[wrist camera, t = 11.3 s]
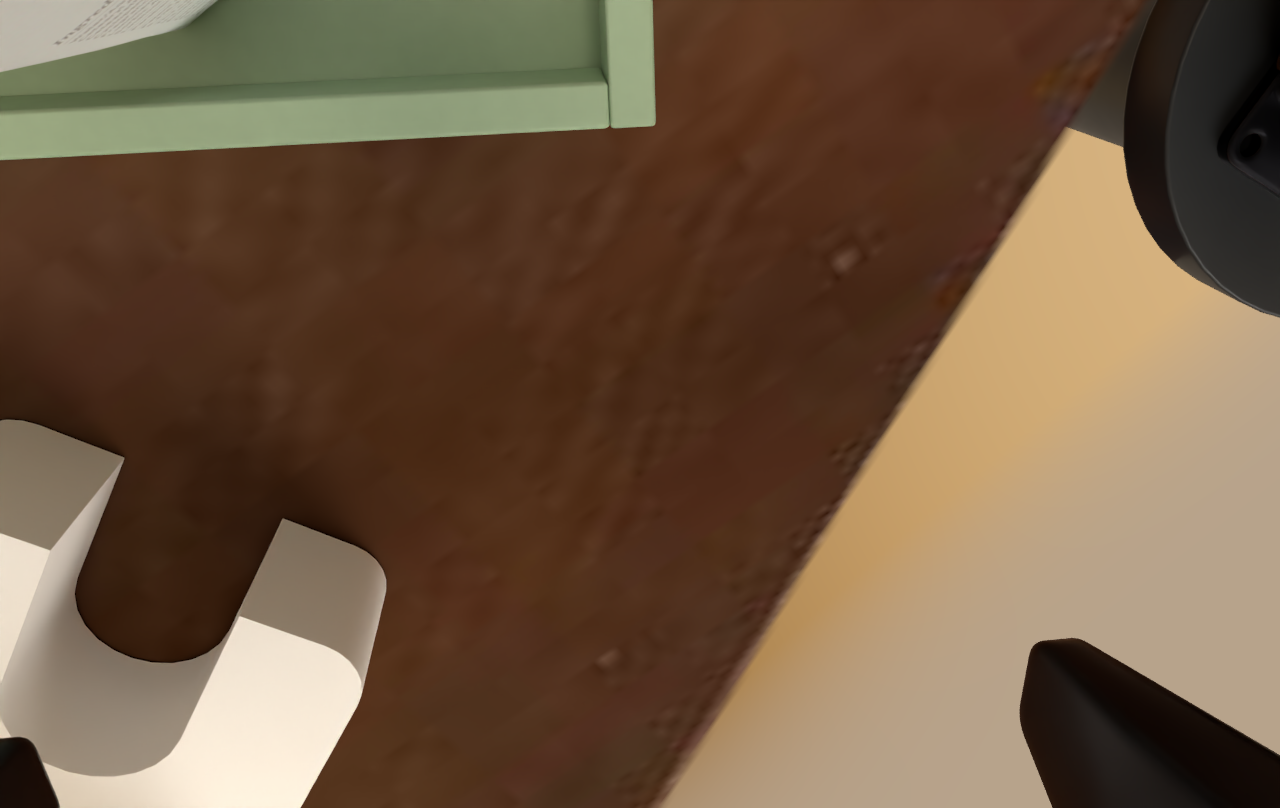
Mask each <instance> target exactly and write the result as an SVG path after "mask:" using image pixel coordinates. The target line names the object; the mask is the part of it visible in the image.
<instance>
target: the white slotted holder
mask: <svg viewBox="0 0 1280 808" xmlns="http://www.w3.org/2000/svg"><path fill="white" fill-rule="evenodd" d="M123 461H124V457H121V456H119V455H116V454H114V453H111V452H108V451H106V450H103V449H100V448H98V447H95V446H93V445H90V444H87V443H85V442H82V441H80V440H77V439H74V438H72V437H69V436H66V435H64V434H61V433H59V432H56V431H53V430H51V429H48V428H46V427H43V426H40V425H37V424H34V423H30V422H26V421H23V420H1V421H0V738H8V737H24V738H27V739H29V740H30V741H31V742H32V743H34V745H35V747H36V749H37V751H38V753H39V755H40V758H41V760H42V763H43V765H44V767H45V770H46V772H47V774H48V777H49V779H50V781H51V784H52V786H53V789H54V791H55V793H56V796H57V798H58V801H59V805H60V808H300V807H301V806H302V804H303V802H304V800H305V798H306V797H307V795H308V793H309V791H310V790H311V788H312V786H313V784H314V782H315V781H316V779H317V777H318V775H319V773H320V772H321V770H322V768H323V766H324V765H325V763H326V761H327V759H328V757H329V756H330V754H331V752H332V750H333V748H334V747H335V745H336V743H337V741H338V740H339V738H340V736H341V734H342V732H343V731H344V729H345V727H346V725H347V723H348V722H349V720H350V718H351V716H352V714H353V713H354V711H355V709H356V707H357V706H358V703H359V700H360V697H361V695H362V690H363V686H364V682H365V678H366V673H367V669H368V665H369V661H370V657H371V652H372V648H373V644H374V640H375V635H376V631H377V627H378V623H379V619H380V614H381V610H382V606H383V602H384V597H385V593H386V578H385V575H384V571H383V569H382V568H381V566H380V565H379V563H378V562H377V560H376V559H375V558H373V557H372V556H371V555H370V554H369V553H368V552H366V551H364V550H362V549H360V548H358V547H356V546H354V545H352V544H349V543H346V542H344V541H341V540H338V539H336V538H333V537H331V536H328V535H325V534H323V533H320V532H318V531H315V530H312V529H310V528H307V527H304V526H302V525H299V524H297V523H294V522H291V521H289V520H286V519H284V518H283V519H282V521H281V523H280V525H279V527H278V529H277V531H276V533H275V536H274V538H273V540H272V542H271V544H270V546H269V548H268V550H267V552H266V554H265V557H264V559H263V561H262V563H261V565H260V567H259V569H258V571H257V573H256V575H255V578H254V580H253V582H252V584H251V586H250V588H249V590H248V592H247V594H246V596H245V599H244V601H243V603H242V605H241V607H240V609H239V611H238V613H237V615H236V617H235V620H234V622H233V624H232V626H231V628H230V630H229V631H228V633H227V634H226V636H225V637H224V639H223V640H222V641H221V643H220V644H218V645H217V646H216V647H214V648H213V649H212V650H211V651H209V652H208V653H206V654H204V655H201V656H199V657H197V658H194V659H192V660H187V661H181V662H176V663H152V662H148V661H143V660H139V659H134V658H131V657H129V656H126V655H124V654H122V653H119V652H117V651H115V650H113V649H111V648H110V647H109V646H107V645H106V644H104V643H103V642H101V641H100V640H99V639H97V638H96V637H95V635H94V634H93V633H92V632H91V631H90V630H89V629H88V628H87V627H86V626H85V624H84V622H83V620H82V618H81V616H80V614H79V612H78V610H77V605H76V599H75V589H76V584H77V579H78V576H79V573H80V571H81V568H82V566H83V563H84V561H85V558H86V556H87V553H88V550H89V548H90V545H91V543H92V540H93V538H94V535H95V533H96V530H97V527H98V525H99V522H100V520H101V517H102V515H103V512H104V510H105V507H106V504H107V502H108V499H109V497H110V494H111V492H112V489H113V487H114V484H115V481H116V479H117V476H118V474H119V471H120V469H121V466H122V464H123Z"/></svg>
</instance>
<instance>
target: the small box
mask: <svg viewBox="0 0 1280 808" xmlns="http://www.w3.org/2000/svg"><path fill="white" fill-rule="evenodd" d="M216 1H218V0H0V72H3V71H8V70H13V69H17V68H22V67H26V66H31V65H35V64H40V63H45V62H49V61H53V60H58V59H62V58H66V57H71V56H75V55H79V54H84V53H88V52H93V51H97V50H101V49H105V48H108V47H112V46H116V45H120V44H123V43H127V42H131V41H134V40H138V39H141V38H145V37H149V36H155V35H159V34H163V33H167V32H171V31H176V30H179V29H182V28H185V27H187V26H188V25H189V24H191V23H192V22H193V21H194V20H195V19H196V18H197V17H199V16H200V15H201V14H202V13H203V12H204V11H205V10H207V9H208V8H209V7H210V6H211V5H213V4H214V3H215V2H216Z"/></svg>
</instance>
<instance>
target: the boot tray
mask: <svg viewBox="0 0 1280 808" xmlns="http://www.w3.org/2000/svg"><path fill="white" fill-rule="evenodd" d="M655 123H656V110H655V73H654V36H653V0H218V1H216V2H215V3H214V4H213V5H211V6H210V7H209V8H208V9H207V10H205V11H204V12H203V13H202V14H201V15H200V16H199V17H197V18H196V19H195V20H194V21H193V22H192V23H191V24H189V25H188V26H187V27H185V28H182V29H179V30H176V31H171V32H167V33H163V34H159V35H155V36H149V37H145V38H141V39H138V40H134V41H131V42H127V43H123V44H120V45H116V46H112V47H108V48H105V49H101V50H97V51H93V52H88V53H84V54H79V55H75V56H71V57H66V58H62V59H58V60H53V61H49V62H45V63H40V64H35V65H31V66H26V67H22V68H17V69H13V70H8V71H3V72H0V160H13V159H32V158H51V157H70V156H89V155H108V154H127V153H146V152H165V151H184V150H203V149H222V148H241V147H260V146H279V145H298V144H317V143H336V142H355V141H374V140H393V139H412V138H431V137H450V136H469V135H488V134H507V133H526V132H545V131H564V130H583V129H602V128H607V127H609V124H610V125H611V127H612V128H626V127H645V126H653V125H655Z"/></svg>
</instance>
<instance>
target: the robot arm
mask: <svg viewBox="0 0 1280 808" xmlns="http://www.w3.org/2000/svg"><path fill="white" fill-rule="evenodd" d="M1248 135H1250V136H1251V142H1250V144H1249V146H1248V148H1246V149H1245V150H1244V151H1243V152H1241V153H1240V145H1241V143H1242V141H1243V139H1245V138H1246V137H1247V136H1248ZM1217 152H1218V156H1219V158H1220V159H1221V160H1222V161H1223V162H1224V163H1225V164H1227V165H1228V166H1230V167H1231V168H1233V169H1234V170H1236V171H1237V172H1239V173H1240V174H1242V175H1244V176H1245V177H1247V178H1248V179H1250V180H1251V181H1253V182H1254V183H1256V184H1258V185H1259V186H1261V187H1262V188H1264V189H1265V190H1267V191H1268V192H1270V193H1272V194H1273V195H1275V196H1276V197H1278V198H1279V199H1280V54H1279V56H1278V58H1277V59H1276V61H1275V62H1274V63H1273V65H1272V66H1271V68H1270V69H1269V70H1268V72H1267V73H1266V74H1265V76H1264V77H1263V78H1262V80H1261V81H1260V82H1259V84H1258V85H1257V86H1256V88H1255V89H1254V90H1253V92H1252V93H1251V94H1250V96H1249V97H1248V98H1247V100H1246V101H1245V102H1244V104H1243V105H1242V107H1241V108H1240V109H1239V111H1238V112H1237V113H1236V115H1235V116H1234V117H1233V119H1232V120H1231V121H1230V123H1229V124H1228V125H1227V127H1226V128H1225V129H1224V131H1223V132H1222V134H1221V136H1220V138H1219V140H1218V145H1217ZM1020 722H1021V727H1022V731H1023V734H1024V737H1025V739H1026V742H1027V744H1028V747H1029V749H1030V752H1031V755H1032V757H1033V760H1034V762H1035V765H1036V767H1037V770H1038V772H1039V775H1040V777H1041V780H1042V782H1043V785H1044V787H1045V790H1046V792H1047V795H1048V797H1049V800H1050V802H1051V805H1052V807H1053V808H1280V755H1279V754H1277V753H1275V752H1274V751H1272V750H1270V749H1268V748H1267V747H1265V746H1263V745H1261V744H1260V743H1258V742H1256V741H1254V740H1253V739H1251V738H1250V737H1248V736H1246V735H1244V734H1243V733H1241V732H1239V731H1238V730H1236V729H1234V728H1233V727H1231V726H1229V725H1227V724H1225V723H1224V722H1222V721H1221V720H1219V719H1217V718H1215V717H1214V716H1212V715H1210V714H1209V713H1207V712H1205V711H1203V710H1202V709H1200V708H1198V707H1197V706H1195V705H1193V704H1192V703H1189V702H1188V701H1186V700H1185V699H1183V698H1181V697H1180V696H1178V695H1176V694H1174V693H1173V692H1171V691H1169V690H1167V689H1166V688H1164V687H1162V686H1161V685H1159V684H1157V683H1156V682H1154V681H1152V680H1150V679H1149V678H1147V677H1145V676H1144V675H1142V674H1140V673H1138V672H1137V671H1135V670H1133V669H1132V668H1130V667H1128V666H1127V665H1125V664H1123V663H1121V662H1120V661H1118V660H1116V659H1114V658H1113V657H1111V656H1110V655H1108V654H1106V653H1104V652H1102V651H1101V650H1099V649H1098V648H1096V647H1094V646H1092V645H1091V644H1089V643H1087V642H1085V641H1083V640H1081V639H1076V638H1068V639H1057V640H1047V641H1040V642H1038V643H1036V644H1035V645H1034V646H1033V648H1032V649H1031V652H1030V655H1029V659H1028V665H1027V670H1026V676H1025V681H1024V687H1023V692H1022V698H1021V703H1020ZM0 808H60V805H59V801H58V798H57V796H56V793H55V791H54V789H53V786H52V784H51V781H50V779H49V777H48V774H47V772H46V770H45V767H44V765H43V763H42V760H41V758H40V755H39V753H38V751H37V749H36V747H35V745H34V743H32V742H31V741H30V740H29V739H27V738H24V737H8V738H0Z"/></svg>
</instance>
